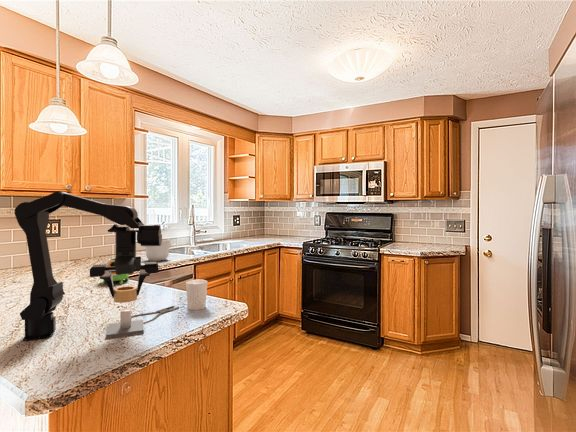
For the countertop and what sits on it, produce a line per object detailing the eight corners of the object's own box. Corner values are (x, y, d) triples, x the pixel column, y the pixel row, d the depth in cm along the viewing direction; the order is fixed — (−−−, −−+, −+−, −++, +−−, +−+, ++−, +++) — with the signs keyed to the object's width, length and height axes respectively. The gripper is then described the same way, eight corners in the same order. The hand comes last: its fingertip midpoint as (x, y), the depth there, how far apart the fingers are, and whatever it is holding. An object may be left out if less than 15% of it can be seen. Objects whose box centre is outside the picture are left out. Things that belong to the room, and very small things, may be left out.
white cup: (198, 311, 119) (199, 284, 119) (181, 309, 122) (181, 283, 121) (211, 305, 126) (211, 280, 126) (194, 303, 129) (194, 278, 129)
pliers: (118, 320, 107) (159, 303, 126) (118, 323, 107) (159, 305, 126) (142, 324, 104) (180, 306, 123) (142, 326, 104) (180, 308, 123)
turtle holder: (133, 276, 177) (133, 255, 177) (125, 284, 160) (125, 260, 159) (108, 277, 174) (108, 256, 174) (97, 285, 156) (97, 261, 156)
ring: (113, 303, 96) (113, 292, 96) (114, 298, 101) (114, 287, 101) (136, 301, 98) (136, 289, 98) (137, 296, 104) (137, 285, 104)
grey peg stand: (106, 338, 93) (106, 318, 93) (108, 326, 103) (108, 308, 102) (143, 333, 98) (143, 313, 98) (143, 322, 107) (143, 304, 107)
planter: (174, 260, 233) (174, 239, 233) (150, 263, 221) (150, 241, 221) (163, 258, 245) (163, 238, 245) (140, 260, 233) (140, 239, 233)
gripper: (86, 251, 88) (86, 307, 89) (159, 248, 96) (159, 300, 97) (92, 246, 98) (92, 297, 99) (157, 244, 106) (157, 291, 107)
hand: (125, 296), depth 100 cm, fingers closed on ring, 6 cm apart
